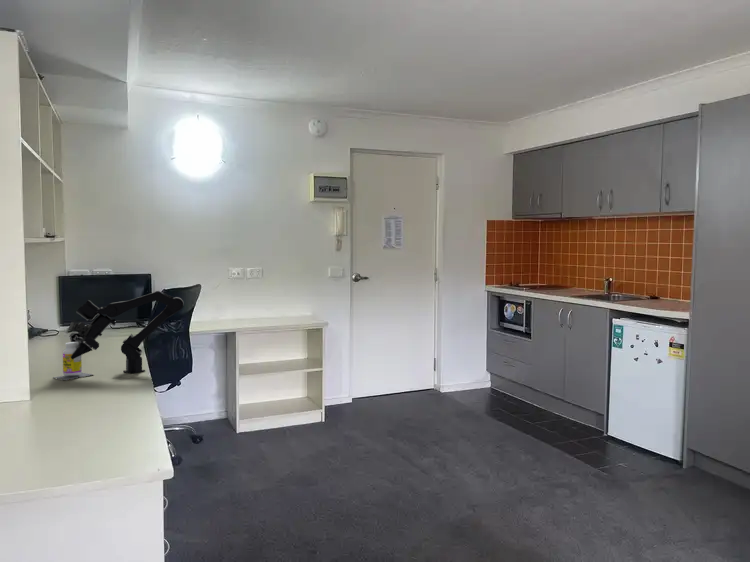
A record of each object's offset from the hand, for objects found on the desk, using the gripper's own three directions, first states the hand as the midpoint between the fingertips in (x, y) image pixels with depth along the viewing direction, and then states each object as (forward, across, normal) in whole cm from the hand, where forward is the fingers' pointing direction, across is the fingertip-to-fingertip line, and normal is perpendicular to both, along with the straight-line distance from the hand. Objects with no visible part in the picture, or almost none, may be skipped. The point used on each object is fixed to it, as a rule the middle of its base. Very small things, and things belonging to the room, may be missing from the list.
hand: (68, 357), depth 225 cm
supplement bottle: (+4, 0, +6) cm, 7 cm away
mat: (+5, 0, +7) cm, 9 cm away
